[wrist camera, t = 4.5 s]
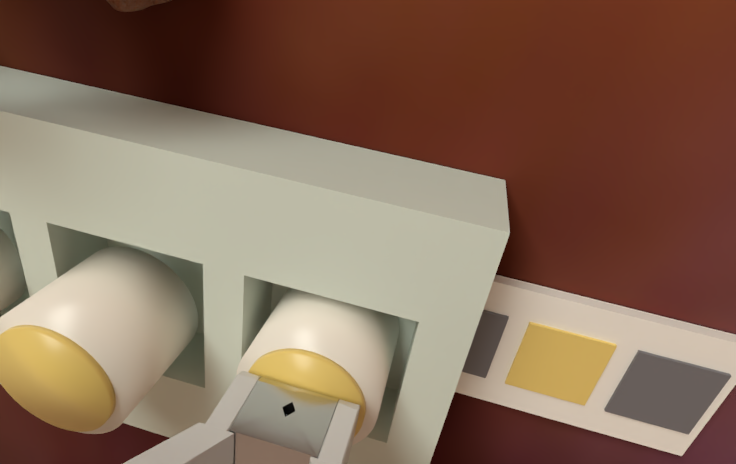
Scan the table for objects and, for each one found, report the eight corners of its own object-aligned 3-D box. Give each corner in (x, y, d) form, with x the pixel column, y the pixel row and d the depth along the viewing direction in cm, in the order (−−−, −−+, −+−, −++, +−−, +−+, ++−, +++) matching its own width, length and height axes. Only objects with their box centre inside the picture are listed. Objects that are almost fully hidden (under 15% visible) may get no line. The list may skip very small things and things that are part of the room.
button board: (505, 180, 12) (510, 232, 10) (423, 434, 17) (411, 514, 14) (-89, 45, 14) (-216, 58, 12) (-12, 305, 19) (-90, 355, 17)
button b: (197, 265, 12) (113, 346, 10) (199, 365, 14) (128, 457, 11) (74, 232, 13) (-41, 300, 10) (91, 333, 15) (-2, 415, 12)
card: (754, 339, 13) (763, 352, 12) (677, 445, 15) (682, 458, 14) (425, 256, 14) (423, 265, 13) (397, 366, 16) (394, 377, 15)
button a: (410, 287, 13) (389, 369, 10) (387, 381, 15) (364, 472, 12) (286, 255, 13) (233, 325, 11) (278, 350, 15) (231, 431, 12)
